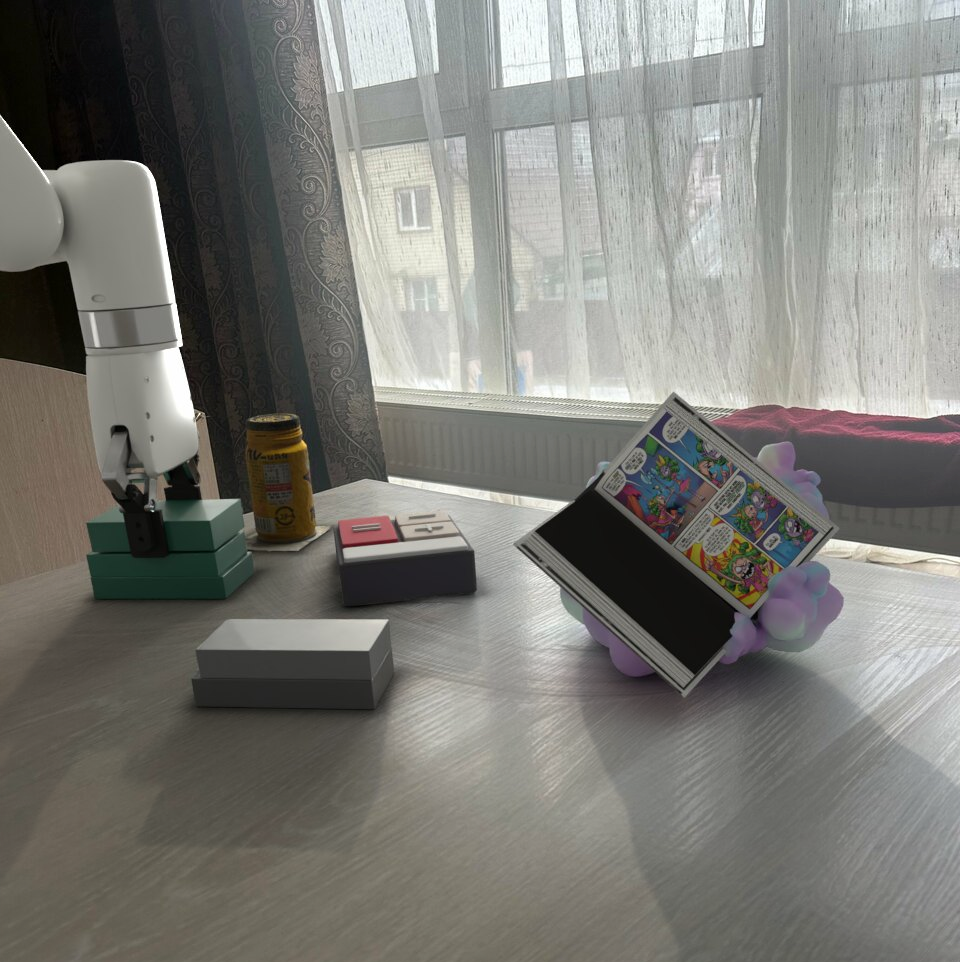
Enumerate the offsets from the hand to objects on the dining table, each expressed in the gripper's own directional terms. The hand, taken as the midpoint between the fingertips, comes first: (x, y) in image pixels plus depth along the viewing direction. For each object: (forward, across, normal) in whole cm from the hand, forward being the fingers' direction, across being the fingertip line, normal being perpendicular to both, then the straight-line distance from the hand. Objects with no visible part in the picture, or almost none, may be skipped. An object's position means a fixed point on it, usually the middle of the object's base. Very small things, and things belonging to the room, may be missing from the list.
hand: (170, 541), depth 87 cm
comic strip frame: (+4, +13, +44) cm, 46 cm away
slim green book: (0, 0, 0) cm, 0 cm away
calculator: (+4, -3, +20) cm, 20 cm away
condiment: (+4, -14, +5) cm, 15 cm away
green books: (+4, 0, 0) cm, 4 cm away
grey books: (+4, +21, +18) cm, 28 cm away
